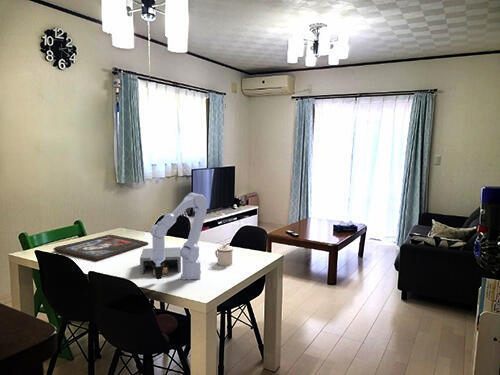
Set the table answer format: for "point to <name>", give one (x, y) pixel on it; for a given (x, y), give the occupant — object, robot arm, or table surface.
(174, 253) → the grey low stand
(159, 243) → the robot arm
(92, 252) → the religious icon
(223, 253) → the teacup with lid
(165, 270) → the teak tray
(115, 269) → the table surface
